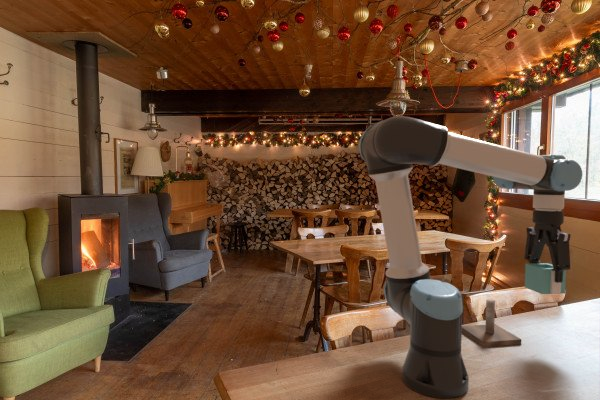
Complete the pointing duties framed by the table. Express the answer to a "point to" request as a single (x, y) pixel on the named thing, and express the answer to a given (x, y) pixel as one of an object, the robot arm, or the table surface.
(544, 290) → the teal open box
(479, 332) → the stand
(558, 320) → the table surface
